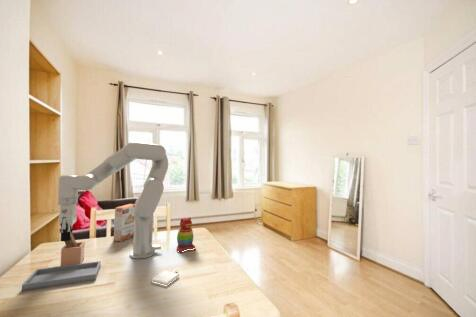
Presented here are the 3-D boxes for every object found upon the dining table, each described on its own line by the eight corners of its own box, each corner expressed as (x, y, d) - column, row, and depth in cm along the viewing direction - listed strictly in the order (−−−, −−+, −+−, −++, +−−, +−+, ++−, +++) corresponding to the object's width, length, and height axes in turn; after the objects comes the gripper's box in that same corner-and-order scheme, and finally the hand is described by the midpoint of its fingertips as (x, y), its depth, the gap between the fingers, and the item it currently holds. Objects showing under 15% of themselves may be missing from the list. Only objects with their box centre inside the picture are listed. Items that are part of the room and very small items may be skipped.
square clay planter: (83, 259, 113) (84, 241, 113) (80, 266, 106) (81, 247, 106) (65, 261, 110) (66, 243, 110) (60, 268, 103) (61, 249, 103)
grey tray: (100, 266, 106) (100, 261, 106) (95, 279, 94) (95, 274, 94) (36, 275, 97) (36, 269, 97) (21, 291, 85) (21, 284, 85)
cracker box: (121, 242, 137) (122, 208, 138) (113, 241, 139) (114, 207, 139) (136, 234, 151) (137, 204, 151) (128, 234, 152) (129, 203, 153)
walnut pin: (81, 256, 110) (80, 223, 110) (79, 258, 108) (79, 225, 107) (61, 259, 107) (61, 225, 107) (59, 262, 104) (59, 227, 104)
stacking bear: (178, 253, 124) (180, 221, 124) (173, 247, 132) (174, 217, 132) (197, 250, 130) (198, 219, 130) (190, 244, 138) (191, 215, 138)
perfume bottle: (151, 278, 94) (169, 266, 105) (151, 283, 94) (169, 270, 105) (166, 283, 91) (183, 270, 102) (166, 288, 91) (183, 274, 102)
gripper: (73, 203, 101) (71, 244, 101) (81, 197, 116) (80, 233, 116) (52, 204, 98) (50, 246, 98) (63, 198, 113) (62, 234, 113)
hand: (66, 238), depth 107 cm, fingers closed on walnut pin, 2 cm apart
